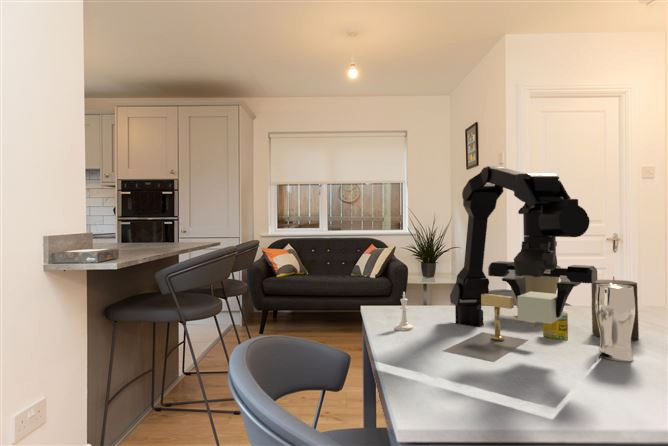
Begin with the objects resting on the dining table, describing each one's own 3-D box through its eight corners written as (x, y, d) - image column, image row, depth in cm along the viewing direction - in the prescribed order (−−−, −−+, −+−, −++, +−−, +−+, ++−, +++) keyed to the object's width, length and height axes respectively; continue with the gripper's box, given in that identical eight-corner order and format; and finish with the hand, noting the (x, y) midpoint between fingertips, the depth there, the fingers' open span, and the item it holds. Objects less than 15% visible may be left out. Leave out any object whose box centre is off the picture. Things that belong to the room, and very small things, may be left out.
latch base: (442, 356, 87) (442, 350, 87) (482, 336, 103) (482, 332, 103) (493, 368, 80) (493, 361, 80) (528, 345, 95) (528, 339, 95)
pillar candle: (640, 343, 96) (639, 279, 96) (591, 337, 101) (590, 277, 101) (636, 334, 104) (635, 275, 104) (591, 329, 109) (590, 273, 110)
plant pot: (572, 322, 117) (571, 267, 118) (520, 322, 118) (519, 267, 118) (545, 312, 132) (545, 262, 133) (499, 312, 133) (499, 263, 133)
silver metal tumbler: (588, 352, 89) (587, 283, 89) (618, 351, 90) (617, 283, 90) (612, 363, 82) (611, 288, 82) (644, 361, 83) (643, 287, 83)
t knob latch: (534, 348, 88) (533, 301, 88) (480, 337, 97) (479, 294, 97) (540, 345, 90) (539, 299, 90) (486, 334, 99) (486, 293, 99)
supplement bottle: (550, 336, 103) (549, 298, 103) (572, 341, 98) (571, 301, 99) (538, 339, 100) (537, 300, 100) (560, 344, 95) (560, 303, 96)
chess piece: (414, 327, 113) (414, 291, 114) (412, 331, 109) (411, 293, 109) (397, 326, 115) (396, 290, 115) (393, 330, 110) (393, 293, 110)
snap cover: (517, 319, 80) (517, 296, 80) (530, 312, 86) (530, 291, 86) (551, 323, 76) (550, 299, 76) (562, 316, 82) (562, 294, 82)
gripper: (476, 236, 82) (477, 314, 82) (584, 237, 69) (585, 330, 69) (498, 235, 90) (498, 306, 90) (597, 236, 77) (598, 319, 77)
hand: (540, 314), depth 81 cm, fingers closed on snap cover, 6 cm apart
